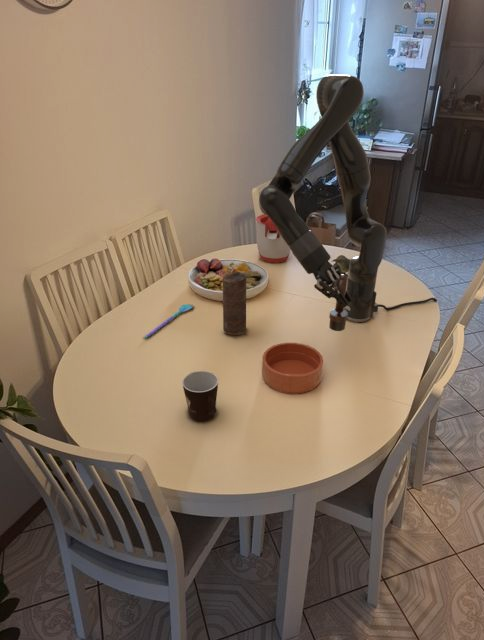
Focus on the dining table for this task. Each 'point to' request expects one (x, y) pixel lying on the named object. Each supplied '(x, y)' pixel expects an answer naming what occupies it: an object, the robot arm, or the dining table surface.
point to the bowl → (210, 275)
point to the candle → (234, 303)
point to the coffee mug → (201, 394)
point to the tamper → (339, 308)
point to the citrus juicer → (270, 241)
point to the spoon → (181, 309)
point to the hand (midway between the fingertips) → (347, 303)
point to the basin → (292, 367)
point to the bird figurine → (342, 264)
